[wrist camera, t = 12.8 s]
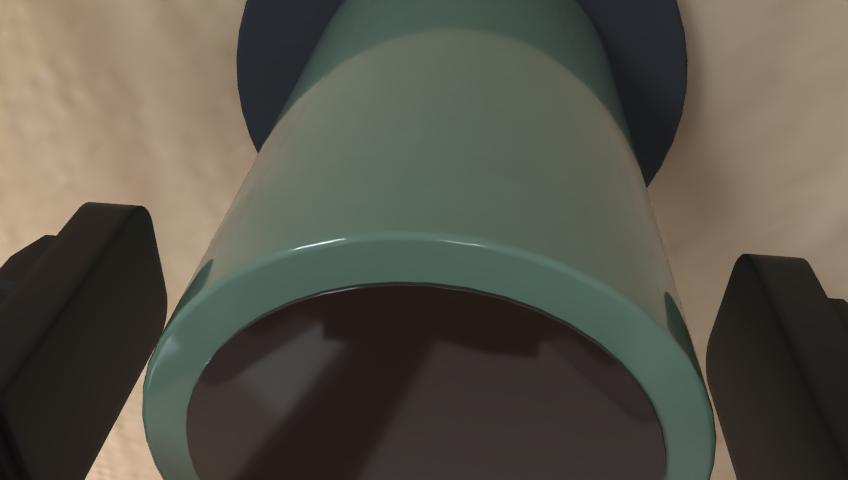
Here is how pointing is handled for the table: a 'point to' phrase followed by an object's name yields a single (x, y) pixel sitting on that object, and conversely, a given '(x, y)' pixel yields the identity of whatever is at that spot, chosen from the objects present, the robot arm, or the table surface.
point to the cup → (437, 272)
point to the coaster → (604, 3)
